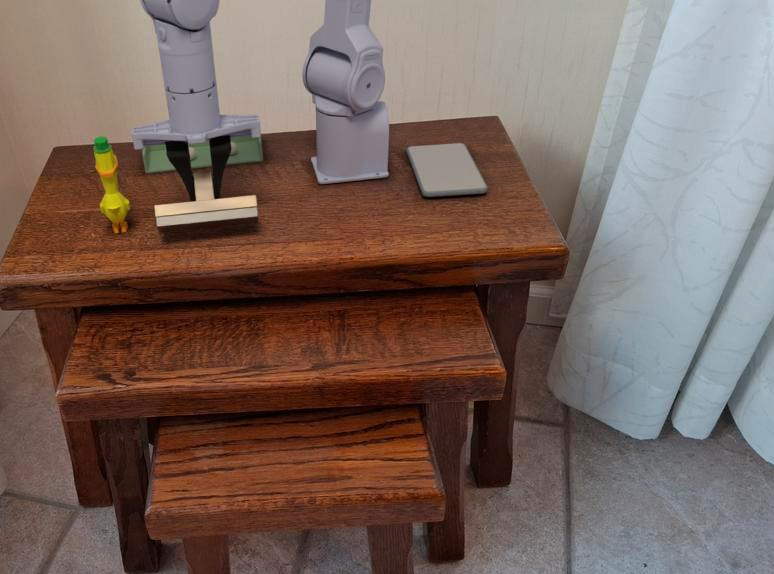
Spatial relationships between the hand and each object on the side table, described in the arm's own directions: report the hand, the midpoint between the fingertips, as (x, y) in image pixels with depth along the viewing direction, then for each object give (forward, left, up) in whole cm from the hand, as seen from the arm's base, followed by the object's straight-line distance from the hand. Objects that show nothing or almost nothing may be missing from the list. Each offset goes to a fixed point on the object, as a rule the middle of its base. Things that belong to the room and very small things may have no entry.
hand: (205, 198), depth 93 cm
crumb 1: (+2, -20, -3) cm, 20 cm away
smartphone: (-32, -8, -4) cm, 33 cm away
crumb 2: (-4, -20, -3) cm, 21 cm away
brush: (0, +4, -2) cm, 4 cm away
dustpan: (0, -22, -4) cm, 23 cm away
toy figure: (+11, -2, -4) cm, 12 cm away
